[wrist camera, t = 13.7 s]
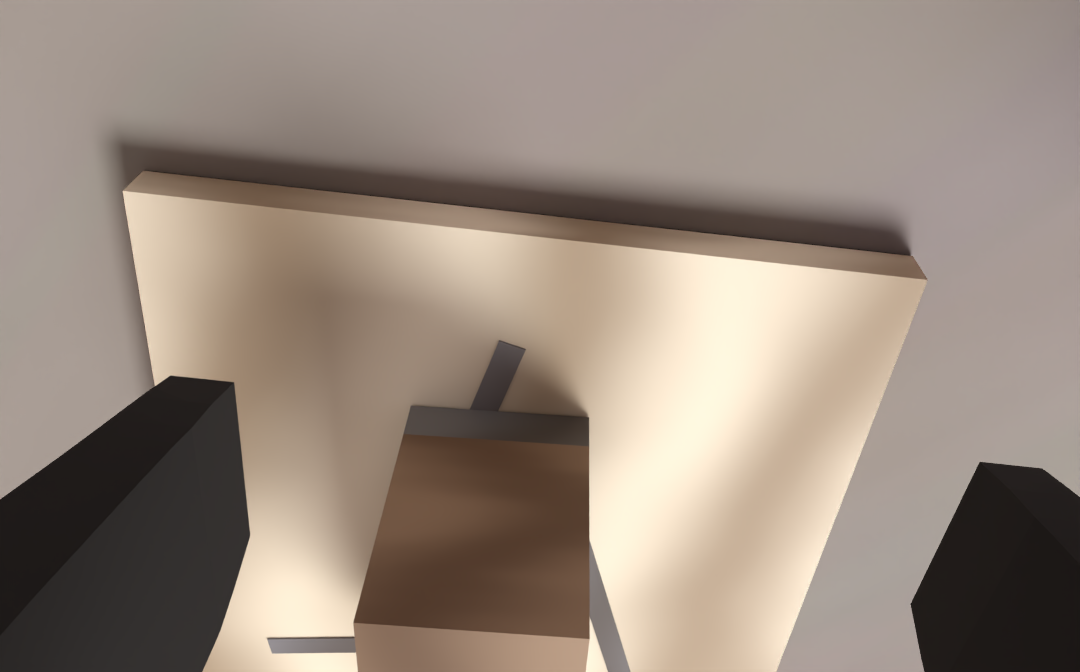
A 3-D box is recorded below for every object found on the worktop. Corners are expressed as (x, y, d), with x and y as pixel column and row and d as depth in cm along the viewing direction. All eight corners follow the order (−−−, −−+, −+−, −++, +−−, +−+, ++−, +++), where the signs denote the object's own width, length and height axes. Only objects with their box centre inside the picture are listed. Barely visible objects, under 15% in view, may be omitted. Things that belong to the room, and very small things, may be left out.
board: (912, 256, 19) (928, 281, 18) (728, 754, 29) (732, 786, 28) (143, 170, 19) (121, 191, 18) (223, 703, 29) (211, 734, 28)
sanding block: (589, 417, 20) (589, 639, 15) (566, 648, 25) (560, 879, 20) (411, 405, 20) (352, 623, 15) (419, 637, 25) (376, 866, 20)
